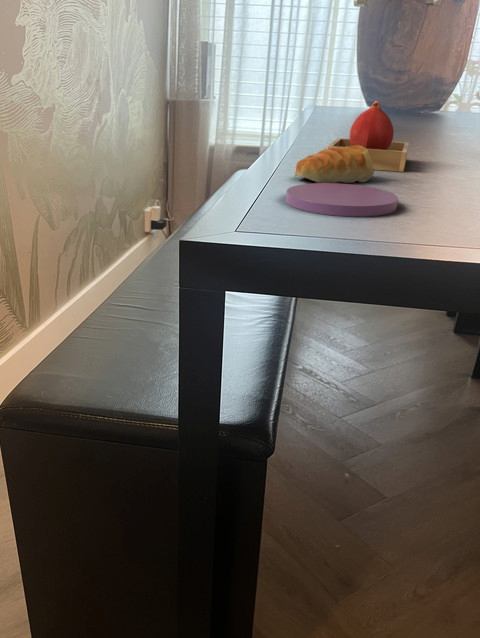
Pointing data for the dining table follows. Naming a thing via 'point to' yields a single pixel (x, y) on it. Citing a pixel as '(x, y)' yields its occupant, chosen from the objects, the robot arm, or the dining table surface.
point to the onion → (372, 129)
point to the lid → (341, 199)
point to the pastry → (337, 165)
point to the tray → (382, 155)
